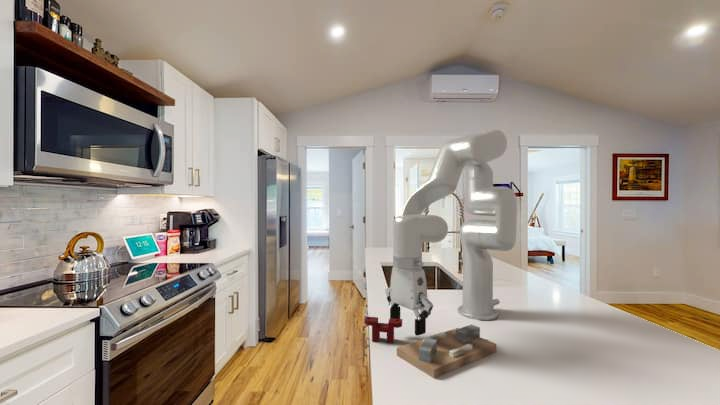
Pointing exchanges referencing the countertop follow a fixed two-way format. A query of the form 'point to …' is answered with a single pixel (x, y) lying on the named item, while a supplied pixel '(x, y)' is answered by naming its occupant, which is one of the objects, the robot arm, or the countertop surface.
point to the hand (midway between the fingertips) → (407, 327)
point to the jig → (447, 350)
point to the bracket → (383, 327)
